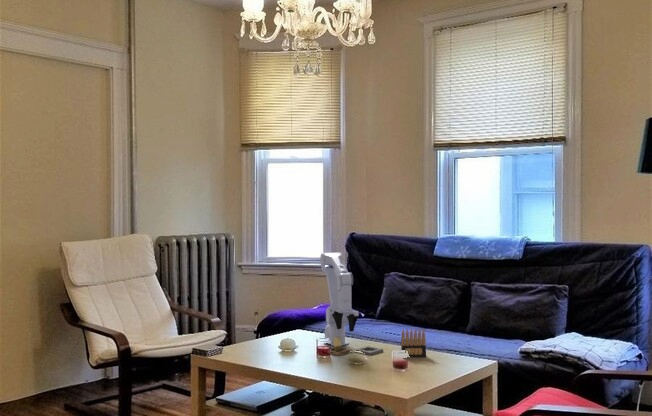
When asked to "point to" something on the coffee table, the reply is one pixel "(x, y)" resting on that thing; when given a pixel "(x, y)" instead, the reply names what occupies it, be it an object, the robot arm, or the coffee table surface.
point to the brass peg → (337, 344)
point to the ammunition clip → (415, 349)
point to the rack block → (343, 351)
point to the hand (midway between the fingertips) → (345, 330)
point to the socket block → (374, 350)
